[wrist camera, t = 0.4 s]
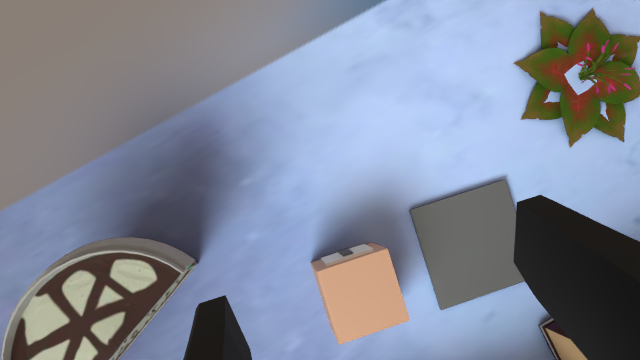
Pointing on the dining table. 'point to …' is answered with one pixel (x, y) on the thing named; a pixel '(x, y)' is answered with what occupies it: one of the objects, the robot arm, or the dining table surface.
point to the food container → (95, 300)
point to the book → (560, 342)
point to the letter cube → (359, 291)
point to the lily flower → (582, 76)
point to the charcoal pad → (469, 243)
